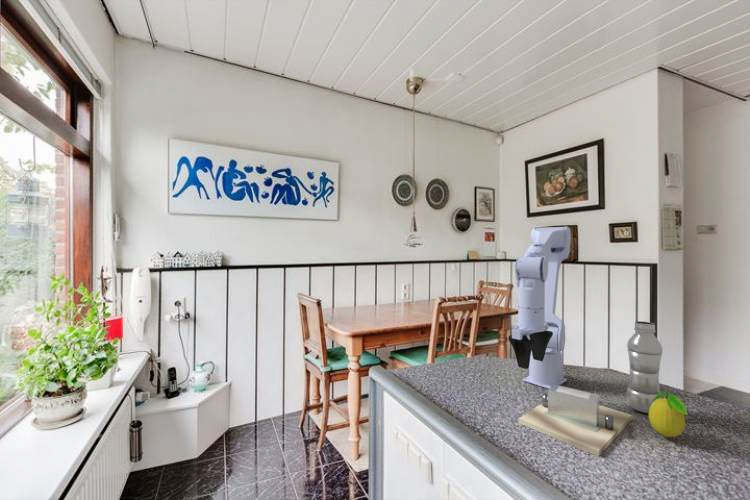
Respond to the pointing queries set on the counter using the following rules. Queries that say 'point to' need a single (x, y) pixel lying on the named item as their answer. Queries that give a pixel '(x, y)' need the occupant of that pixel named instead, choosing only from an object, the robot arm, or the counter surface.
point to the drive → (573, 404)
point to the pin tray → (578, 427)
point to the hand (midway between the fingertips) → (530, 363)
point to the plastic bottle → (643, 367)
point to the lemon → (667, 415)
